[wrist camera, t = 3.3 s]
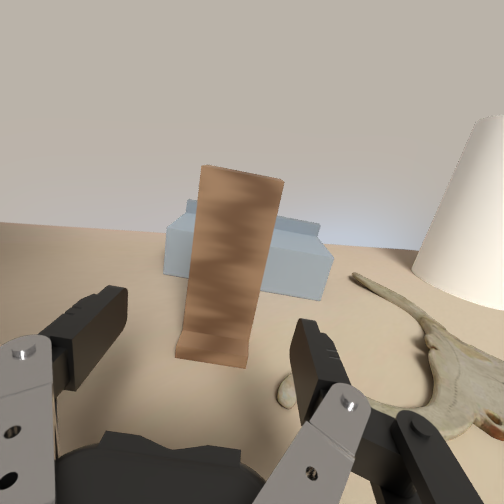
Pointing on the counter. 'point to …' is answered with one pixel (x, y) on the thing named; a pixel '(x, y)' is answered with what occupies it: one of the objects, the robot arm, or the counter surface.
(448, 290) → the cylinder
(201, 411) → the counter surface
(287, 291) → the display riser
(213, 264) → the brown wooden block
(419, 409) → the decorative wall piece
